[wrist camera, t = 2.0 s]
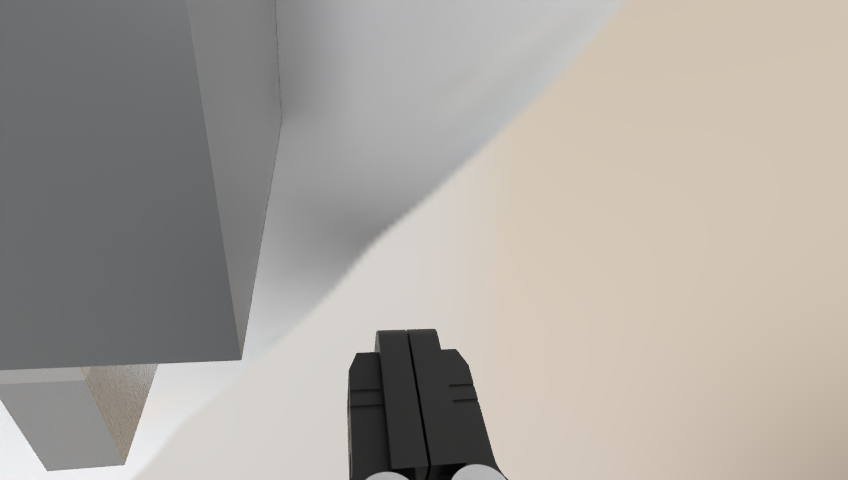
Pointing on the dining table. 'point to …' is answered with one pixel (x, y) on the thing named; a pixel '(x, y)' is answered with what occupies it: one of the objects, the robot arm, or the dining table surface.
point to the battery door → (78, 411)
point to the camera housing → (133, 178)
